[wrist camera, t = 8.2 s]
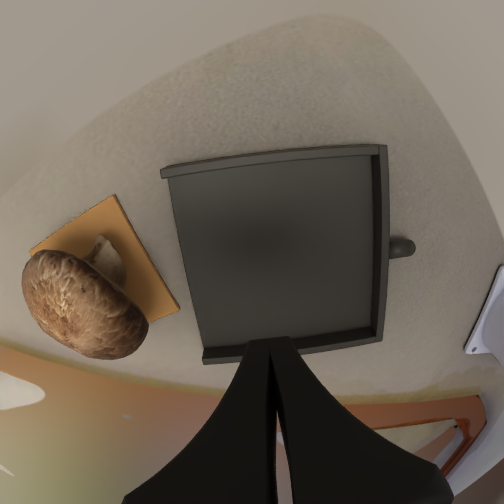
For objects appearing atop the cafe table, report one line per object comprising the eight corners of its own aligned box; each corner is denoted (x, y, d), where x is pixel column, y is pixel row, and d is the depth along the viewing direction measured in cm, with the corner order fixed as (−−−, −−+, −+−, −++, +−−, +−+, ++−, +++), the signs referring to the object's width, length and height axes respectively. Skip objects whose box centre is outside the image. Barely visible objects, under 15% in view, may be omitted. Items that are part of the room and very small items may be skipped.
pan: (205, 350, 21) (203, 365, 19) (167, 166, 16) (159, 169, 15) (400, 322, 20) (409, 335, 19) (406, 143, 16) (419, 144, 15)
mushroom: (99, 189, 13) (27, 308, 10) (198, 286, 18) (159, 387, 15) (42, 220, 17) (-7, 301, 14) (120, 289, 23) (87, 363, 19)
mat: (114, 194, 17) (112, 195, 17) (180, 308, 19) (179, 310, 19) (30, 250, 18) (28, 251, 18) (91, 343, 21) (89, 345, 20)
